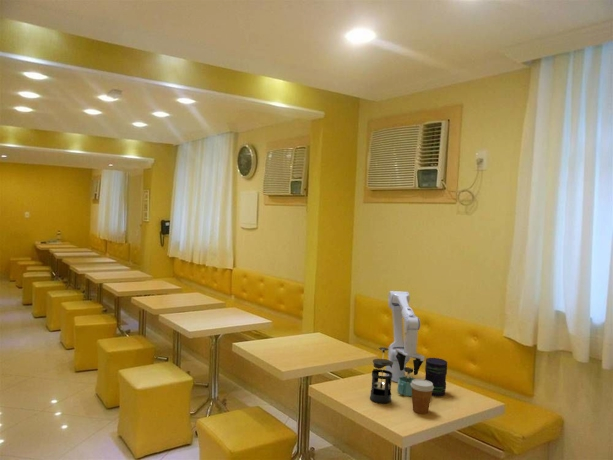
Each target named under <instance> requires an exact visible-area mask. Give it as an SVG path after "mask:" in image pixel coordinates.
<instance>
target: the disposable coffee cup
mask: <svg viewBox="0 0 613 460" xmlns="http://www.w3.org/2000/svg"><path fill="white" fill-rule="evenodd" d="M411 387H412V396H411V398H412V399H411V402H412V411H413V412H415V413H416V414H419V415H420V414H421V415H425V414H428V413H429V411H430V410H429V409H430V403H431V399H432V396H431V395H432V390H433V388H434V386H433V383H432V382H430V381H427V380H425V379H422V378H415V379H414V380H412V382H411Z"/></svg>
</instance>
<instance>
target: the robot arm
mask: <svg viewBox="0 0 613 460" xmlns="http://www.w3.org/2000/svg"><path fill="white" fill-rule="evenodd" d="M387 296H388V297H387V298H388V308H389V309H391V313H392V328H393V341H392V343H390V345H388V349H389V350H387V352H388V353H387V357H388V360H390V361H392V362H393V365H392V368H391V367H390V366H385V370H387V371H390V372H392V374H393V375H392V378H391V382H395V383H398V378H400V377H402V376H403V377H406V372H405V371H404V368H405V367H407V366H406V365H407V364H408V362H409V361H410V359H411V358H412V359H413V361H412V363H413V375H414V376H417V375H418V373H419V370H420V368H421V366H422V364H423V363H424V361H426V359H425V358H426V356H424V355H422V354H420V353H418V352H417V349H418V347H417V346H418V334H419V333H418V331H419V330H420V328H421V320H420V317H418V316H416V314H415V312H414V309H413V308H412V307H410V305H409V303H410V300H411V295H410V293H409V291H399V290H398V291H396V290H390V291H389V292H388V295H387ZM384 376H389V374H387V373H384Z"/></svg>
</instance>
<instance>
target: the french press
mask: <svg viewBox="0 0 613 460" xmlns="http://www.w3.org/2000/svg"><path fill="white" fill-rule="evenodd" d="M378 349H379V350H380V351H382V358H375V359H372V363H373V364H372V365H373V369H372V371H371V379H372V380H371V388H370V389H371V390H370V396H369V399H370V401H371V402H372V403H376V404H380V405H381V404H382V405H385V404H386V405H387V404H390V403H391V402H392V392H391V391H392V380H391V378H392V375H393V374H392V372H390V371H387V370H386V369H384V367H385V368H386V366H390V367H391V368H392V365H393V362H392V361H390V360H389V359H386V358H384V356H385V351H389V347H384V346H382V347H378ZM380 373H381V375H380ZM385 373H387V374H389V376H385V375H383V374H385ZM379 379H380V381H379ZM383 380H384V381H385V382H383Z"/></svg>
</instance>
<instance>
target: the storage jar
mask: <svg viewBox="0 0 613 460" xmlns="http://www.w3.org/2000/svg"><path fill="white" fill-rule="evenodd" d="M424 366H425V368H424V372H425V377H424V380H427V381H430V382H432V383H433V386H434V388H433V390H432V395H431V397H435V398H439V397H444V396H446V390H447V382H446V379H447V374H448V361H447V360H445V359H442V358H437V357H427V358H426V359H425V364H424Z"/></svg>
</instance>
